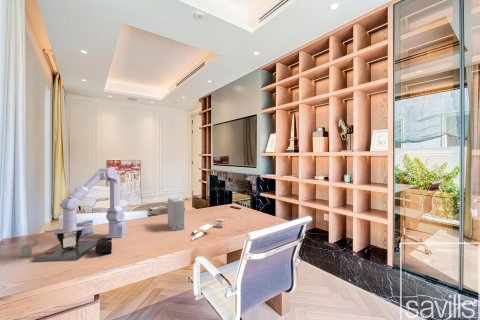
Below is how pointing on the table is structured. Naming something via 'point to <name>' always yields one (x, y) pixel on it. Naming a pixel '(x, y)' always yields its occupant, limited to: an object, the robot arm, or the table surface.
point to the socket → (67, 252)
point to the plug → (69, 241)
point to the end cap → (103, 246)
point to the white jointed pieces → (218, 224)
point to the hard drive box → (176, 213)
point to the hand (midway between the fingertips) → (70, 246)
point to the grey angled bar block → (27, 249)
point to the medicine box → (89, 227)
